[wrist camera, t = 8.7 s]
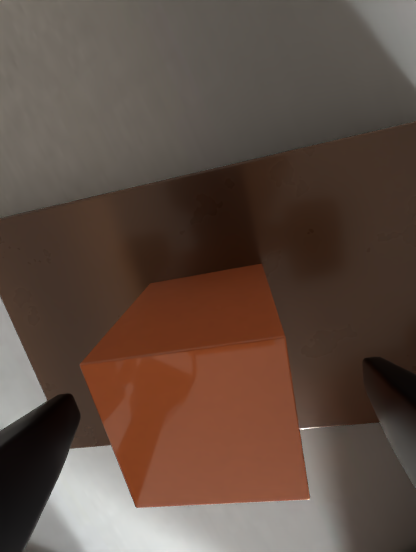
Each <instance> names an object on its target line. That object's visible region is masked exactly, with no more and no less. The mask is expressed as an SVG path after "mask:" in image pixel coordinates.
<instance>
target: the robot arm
mask: <svg viewBox="0 0 416 552" xmlns="http://www.w3.org/2000/svg"><path fill="white" fill-rule="evenodd" d="M362 365H363V381H364V387H365V390H366V393H367V395H368V397H369V399H370V402H371V404H372V406H373V408H374V410H375V413H376V415H377V417H378V419H379V421H380V424H381V426H382V428H383V430H384V432H385V435H386V437H387V439H388V441H389V443H390V445H391V447H392V449H393V451H394V453H395V454H396V456H397V458H398V460H399V461H400V463H401V465H402V466H403V468H404V470H405V472H406V473H407V475H408V477H409V478H410V480H411V482H412V483H413V485H414V487H415V489H416V374H414V373H412V372H410V371H408V370H406V369H404V368H402V367H400V366H398V365H396V364H394V363H392V362H390V361H388V360H385V359H383V358H381V357H378V356H377V357H368V358H364V359H363V362H362ZM80 418H81V415H80V411H79V409H78V406H77V404H76V401H75V399H74V397H73V395H72V394H70V393H66V394H59V395H56V396H55V397H53V398H52V399H50V400H48V401H47V402H45V403H44V404H42V405H40V406H39V407H37V408H36V409H34V410H32V411H31V412H29V413H28V414H26V415H25V416H23V417H21V418H20V419H18V420H17V421H15V422H13V423H12V424H10V425H9V426H7V427H5V428H4V429H2V430H1V431H0V552H24V550H25V548H26V546H27V544H28V541H29V539H30V537H31V535H32V533H33V531H34V529H35V526H36V524H37V522H38V520H39V518H40V516H41V514H42V511H43V509H44V507H45V505H46V503H47V501H48V499H49V496H50V494H51V492H52V490H53V488H54V486H55V484H56V481H57V479H58V477H59V475H60V473H61V470H62V468H63V465H64V463H65V460H66V457H67V455H68V452H69V449H70V447H71V444H72V441H73V439H74V436H75V433H76V431H77V428H78V425H79V422H80Z"/></svg>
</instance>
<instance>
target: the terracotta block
mask: <svg viewBox="0 0 416 552" xmlns="http://www.w3.org/2000/svg"><path fill="white" fill-rule="evenodd" d="M80 368H81V371H82V373H83V376H84V378H85V381H86V383H87V386H88V388H89V391H90V393H91V396H92V398H93V401H94V403H95V406H96V408H97V411H98V413H99V416H100V418H101V421H102V423H103V426H104V428H105V431H106V433H107V436H108V439H109V441H110V444H111V446H112V449H113V451H114V454H115V456H116V459H117V461H118V464H119V466H120V469H121V471H122V474H123V476H124V479H125V481H126V484H127V486H128V489H129V491H130V494H131V496H132V499H133V501H134V504H135V506H136V508H145V507H165V506H186V505H206V504H227V503H248V502H268V501H289V500H309V499H310V494H309V487H308V481H307V474H306V467H305V461H304V454H303V448H302V441H301V434H300V428H299V421H298V415H297V408H296V401H295V395H294V388H293V382H292V375H291V368H290V362H289V355H288V349H287V342H286V336H285V333H284V330H283V327H282V324H281V321H280V317H279V314H278V311H277V308H276V305H275V302H274V298H273V295H272V292H271V289H270V286H269V283H268V280H267V276H266V273H265V270H264V267H263V264H256V265H251V266H245V267H239V268H234V269H228V270H223V271H217V272H211V273H206V274H200V275H194V276H189V277H183V278H178V279H172V280H166V281H161V282H155V283H150V284H149V285H148V286H147V287H146V288H145V290H144V291H143V292H142V293H141V294H140V295H139V296H138V298H137V299H136V300H135V301H134V302H133V303H132V305H131V306H130V307H129V308H128V309H127V310H126V311H125V313H124V314H123V315H122V316H121V317H120V318H119V319H118V321H117V322H116V323H115V324H114V325H113V326H112V327H111V329H110V330H109V331H108V332H107V333H106V334H105V335H104V337H103V338H102V339H101V340H100V341H99V342H98V344H97V345H96V346H95V347H94V348H93V349H92V350H91V352H90V353H89V354H88V355H87V356H86V357H85V358H84V360H83V361H82V362H81V363H80Z"/></svg>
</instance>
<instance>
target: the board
mask: <svg viewBox="0 0 416 552" xmlns="http://www.w3.org/2000/svg"><path fill="white" fill-rule="evenodd" d="M256 264H263V267H264V270H265V273H266V276H267V280H268V283H269V286H270V289H271V292H272V295H273V298H274V302H275V305H276V308H277V311H278V314H279V317H280V321H281V324H282V327H283V330H284V333H285V336H286V342H287V349H288V355H289V362H290V368H291V375H292V382H293V388H294V395H295V401H296V408H297V415H298V421H299V428H300V429H308V428H320V427H332V426H344V425H356V424H367V423H379V422H380V421H379V419H378V417H377V415H376V413H375V410H374V408H373V406H372V404H371V402H370V399H369V397H368V395H367V393H366V390H365V387H364V381H363V365H362V362H363V359H364V358H368V357H377V356H378V357H381V358H383V359H385V360H388V361H390V362H392V363H394V364H396V365H398V366H400V367H402V368H404V369H406V370H408V371H410V372H412V373H414V374H416V121H414V122H410V123H406V124H402V125H397V126H393V127H389V128H384V129H380V130H376V131H372V132H367V133H363V134H359V135H354V136H350V137H346V138H342V139H337V140H333V141H329V142H325V143H320V144H316V145H312V146H307V147H303V148H299V149H295V150H290V151H286V152H282V153H277V154H273V155H269V156H265V157H260V158H256V159H252V160H247V161H243V162H239V163H235V164H230V165H226V166H222V167H217V168H213V169H209V170H205V171H200V172H196V173H192V174H187V175H183V176H179V177H175V178H170V179H166V180H162V181H157V182H153V183H149V184H145V185H140V186H136V187H132V188H127V189H123V190H119V191H115V192H110V193H106V194H102V195H97V196H93V197H89V198H85V199H80V200H76V201H72V202H67V203H63V204H59V205H55V206H50V207H46V208H42V209H37V210H33V211H29V212H25V213H20V214H16V215H12V216H7V217H3V218H0V297H1V299H2V301H3V303H4V305H5V308H6V310H7V312H8V314H9V317H10V319H11V321H12V323H13V325H14V328H15V330H16V332H17V334H18V336H19V339H20V341H21V343H22V345H23V348H24V350H25V352H26V354H27V356H28V359H29V361H30V363H31V365H32V367H33V370H34V372H35V374H36V376H37V378H38V381H39V383H40V385H41V387H42V390H43V392H44V394H45V396H46V398H47V401H48V400H50V399H52V398H53V397H55V396H56V395H59V394H66V393H70V394H72V395H73V397H74V399H75V401H76V404H77V406H78V409H79V411H80V415H81V418H80V422H79V425H78V428H77V431H76V433H75V436H74V439H73V441H72V444H71V447H70V449H72V448H84V447H96V446H107V445H111V444H110V441H109V439H108V436H107V433H106V431H105V428H104V426H103V423H102V421H101V418H100V416H99V413H98V411H97V408H96V406H95V403H94V401H93V398H92V396H91V393H90V391H89V388H88V386H87V383H86V381H85V378H84V376H83V373H82V371H81V368H80V363H81V362H82V361H83V360H84V358H85V357H86V356H87V355H88V354H89V353H90V352H91V350H92V349H93V348H94V347H95V346H96V345H97V344H98V342H99V341H100V340H101V339H102V338H103V337H104V335H105V334H106V333H107V332H108V331H109V330H110V329H111V327H112V326H113V325H114V324H115V323H116V322H117V321H118V319H119V318H120V317H121V316H122V315H123V314H124V313H125V311H126V310H127V309H128V308H129V307H130V306H131V305H132V303H133V302H134V301H135V300H136V299H137V298H138V296H139V295H140V294H141V293H142V292H143V291H144V290H145V288H146V287H147V286H148V285H149V284H150V283H155V282H161V281H166V280H172V279H178V278H183V277H189V276H194V275H200V274H206V273H211V272H217V271H223V270H228V269H234V268H239V267H245V266H251V265H256Z"/></svg>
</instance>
